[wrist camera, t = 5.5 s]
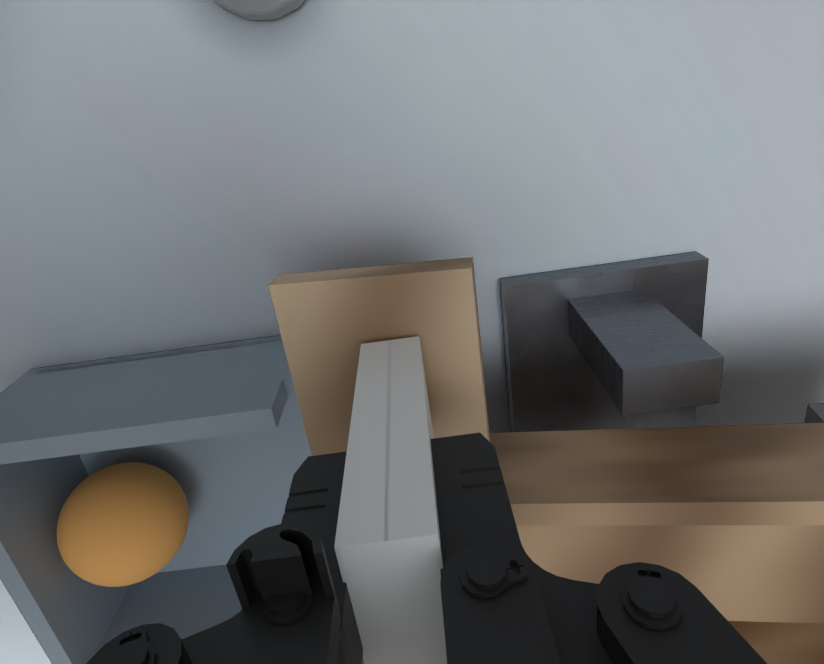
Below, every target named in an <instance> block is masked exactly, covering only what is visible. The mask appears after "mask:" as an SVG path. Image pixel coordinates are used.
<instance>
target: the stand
mask: <svg viewBox="0 0 824 664" xmlns="http://www.w3.org/2000/svg"><path fill="white" fill-rule="evenodd" d="M707 270H708V258H706V257H705V256H703V255H701V254H699V253H698V252H689V253H682V254H675V255H667V256H660V257H653V258H645V259H638V260H631V261H623V262H616V263H609V264H602V265H594V266H587V267H580V268H572V269H565V270H558V271H550V272H543V273H536V274H528V275H521V276H514V277H507V278H500V288H501V301H502V315H503V328H504V341H505V355H506V368H507V382H508V395H509V408H510V422H511V432H539V431H571V430H604V429H636V428H668V427H694V420H695V408H696V406H697V405H704V404H712V403H719V395H720V386H721V377H722V367H723V358H724V357H723V356H721V355H720V354H719V353H718V352H717V351H715V350H714V349H713V348H712V347H711V346H710V345H708V344H707V343H706V342H705V341H704V340H703V339H702V328H703V316H704V305H705V293H706V282H707Z"/></svg>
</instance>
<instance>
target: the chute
mask: <svg viewBox="0 0 824 664" xmlns="http://www.w3.org/2000/svg"><path fill="white" fill-rule="evenodd" d="M268 287H269V291H270V295H271V299H272V302H273V306H274V310H275V314H276V318H277V322H278V326H279V330H280V334H281V337H282V341H283V345H284V349H285V353H286V357H287V361H288V365H289V369H290V372H291V376H292V380H293V384H294V388H295V392H296V396H297V400H298V404H299V407H300V411H301V415H302V419H303V423H304V427H305V431H306V435H307V438H308V442H309V446H310V450H311V454H312V456H316V455H323V454H331V453H339V452H346V451H347V446H348V438H349V431H350V423H351V415H352V408H353V400H354V393H355V385H356V377H357V370H358V362H359V355H360V347H361V344H365V343H372V342H380V341H387V340H395V339H402V338H410V337H417V336H419V338H420V345H421V352H422V359H423V366H424V373H425V380H426V387H427V394H428V401H429V407H430V414H431V421H432V428H433V437H434V438H441V437H449V436H457V435H464V434H472V433H481V434H482V435H483V436H484V437H485V438H486V439H487V440H488V441H489V442H490V443H491V444H492V445H493V446H494V447H495V450H496V453H497V457H498V461H499V464H500V469H501V472H502V475H503V479H504V484H505V486H506V490H507V494H508V497H509V501H510V505H511V508H512V512H513V516H514V519H515V523H516V527H517V530H518V534H519V538H520V541H521V544H522V546H523V548H524V550H525V552H526V554H527V555H528V556H529V557H530V558H531V560H532V561H533V562H534V563H536V564H537V565H538V566H540V567H541V568H542V569H544V570H546V571H548V572H550V573H552V574H554V575H556V576H559V577H563V578H567V579H571V580H577V581H583V582H590V583H596V584H599V583H600V582H601V580H602V579H603V577H604V575H605V574H606V573H607V572H609V571H611V570H612V569H614V568H616V567H618V566H619V565H623V564H629V563H636V562H642V563H649V564H656V565H661V566H663V567H665V568H668V569H670V570H672V571H675V572H677V573H679V574H681V575H682V576H683V577H684V578H686V579H687V580H688V581H689V582H691V583H692V584H693V585H694V586H696V587H697V588H698V589H699V590H700V591H701V592H702V594H703V595H704V596H705V597H706V598H707V599H708V600H709V601H710V602H711V603H712V604H713V605H714V607H715V608H716V609H717V610H718V611H719V612H720V613H721V614H722V615H723V616H724V617H725V618H726V619H727V621H728V622H729V623H730V624H731V625H732V626H733V627H734V628H735V629H736V630H737V631H738V632H739V634H740V635H741V636H742V637H743V638H744V639H745V640H746V641H747V642H748V643H749V644H750V645H751V646H752V648H753V649H754V650H755V651H756V652H757V653H758V654H759V655H760V656H761V657H762V658H763V659H764V661H765V662H766V663H767V664H824V403H819V404H808V407H807V412H806V418H805V423H797V424H765V425H733V426H700V427H668V428H636V429H604V430H571V431H539V432H507V433H489V424H488V414H487V403H486V393H485V382H484V371H483V361H482V350H481V340H480V329H479V318H478V308H477V297H476V287H475V276H474V265H473V257H472V258H460V259H449V260H438V261H426V262H415V263H404V264H392V265H381V266H370V267H358V268H347V269H336V270H324V271H313V272H302V273H290V274H279V275H278V276H277V277H276V278H275V279H274V280H273V281H272V282H271V283H270V284H269V285H268ZM362 664H364V661H363V659H362Z"/></svg>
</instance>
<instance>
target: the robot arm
mask: <svg viewBox="0 0 824 664" xmlns="http://www.w3.org/2000/svg"><path fill="white" fill-rule="evenodd" d="M226 566H227V569H228V572H229V574H230V577H231V580H232V583H233V585H234V588H235V591H236V593H237V596H238V599H239V601H240V604H241V607H242V609H241V611H240V612H239V613H238V614H236V615H235V616H233V617H232V618H230V619H228V620H226V621H224V622H222V623H220V624H218V625H216V626H213V627H211V628H208V629H206V630H203V631H201V632H198V633H196V634H194V635H191V636H189V637H186V638H184V639H181V638H180V637H179V635H178V634H177V632H176V631H175V629H174V628H172V627H169V626H167V625H164V624H161V623H155V624H143V625H140V626H138V627H135V628H132V629H130V630H127V631H125V632H123V633H121V634H120V635H118V636H117V637H115V638H114V639H112V640H111V641H109V642H108V643H106V644H105V645H104V646H103V647H102V648H101V649H100V650H99V651H98V652H97V653H96V654H95V655H94V656H93V657H92V658H91V659H90V660H89V661H88V662H87V664H362V659H363V661H364V664H767V663H766V662H765V661H764V659H763V658H762V657H761V656H760V655H759V654H758V653H757V652H756V651H755V650H754V649H753V648H752V646H751V645H750V644H749V643H748V642H747V641H746V640H745V639H744V638H743V637H742V636H741V635H740V634H739V632H738V631H737V630H736V629H735V628H734V627H733V626H732V625H731V624H730V623H729V622H728V621H727V619H726V618H725V617H724V616H723V615H722V614H721V613H720V612H719V611H718V610H717V609H716V608H715V607H714V605H713V604H712V603H711V602H710V601H709V600H708V599H707V598H706V597H705V596H704V595H703V594H702V592H701V591H700V590H699V589H698V588H697V587H696V586H694V585H693V584H692V583H691V582H689V581H688V580H687V579H686V578H684V577H683V576H682V575H681V574H679V573H677V572H675V571H672V570H670V569H668V568H665V567H663V566H661V565H656V564H649V563H642V562H636V563H629V564H623V565H619V566H618V567H616V568H614V569H612V570H611V571H609V572H607V573H606V574H605V575H604V577H603V579H602V580H601V582H600V583H599V584H596V583H590V582H583V581H577V580H571V579H567V578H563V577H559V576H556V575H554V574H552V573H550V572H548V571H546V570H544V569H542V568H541V567H540V566H538V565H537V564H536V563H534V562H533V561H532V560H531V558H530V557H529V556H528V555H527V554H526V552H525V550H524V548H523V546H522V544H521V541H520V538H519V534H518V530H517V527H516V523H515V519H514V516H513V512H512V508H511V505H510V501H509V497H508V494H507V490H506V486H505V484H504V479H503V475H502V472H501V469H500V464H499V461H498V457H497V453H496V450H495V447H494V446H493V445H492V444H491V443H490V442H489V441H488V440H487V439H486V438H485V437H484V436H483V435H482V434H481V433H472V434H464V435H457V436H449V437H441V438H434V437H433V428H432V421H431V414H430V407H429V401H428V394H427V387H426V380H425V373H424V366H423V359H422V352H421V345H420V338H419V336H417V337H410V338H402V339H395V340H387V341H380V342H372V343H365V344H361V347H360V355H359V362H358V370H357V377H356V385H355V393H354V400H353V408H352V415H351V423H350V431H349V438H348V446H347V451H346V452H339V453H331V454H323V455H316V456H308V457H307V459H306V460H305V461H304V462H303V463H302V465H301V466H300V467H299V468H298V470H297V471H296V472H295V473H294V475H293V479H292V483H291V487H290V491H289V497H288V498H287V502H286V506H285V514H283V518H282V521H281V524H279V525H275V526H271V527H267V528H264V529H263V530H261V531H259V532H257V533H255V534H253V535H252V536H250V537H248V538H247V539H246V540H245V541H244V542H243V543H242V544H241V545H239V546H238V547H237V548H236V549H235V550H234V552H233V554H232V555H231V557H230V559H229V560H228V562H227V564H226Z"/></svg>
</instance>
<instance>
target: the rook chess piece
mask: <svg viewBox="0 0 824 664" xmlns="http://www.w3.org/2000/svg"><path fill="white" fill-rule="evenodd" d="M213 1H214V2H215V3H216V4H218V5H220V6H221V7H222V8H223V9H224V10H226V11H229V12H231V13H234V14H236V15H238V16H241V17H243V18H246V19H248V20H273V19H278V18H280V17H282V16H284V15H286V14H288V13H289V12H291V11H293V10H295V9H297V8H299V7H300V6H301V5H302V3H303V2H304V0H213Z"/></svg>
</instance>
